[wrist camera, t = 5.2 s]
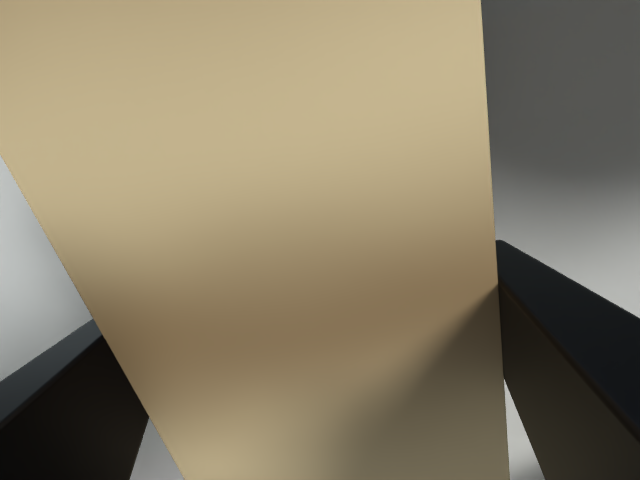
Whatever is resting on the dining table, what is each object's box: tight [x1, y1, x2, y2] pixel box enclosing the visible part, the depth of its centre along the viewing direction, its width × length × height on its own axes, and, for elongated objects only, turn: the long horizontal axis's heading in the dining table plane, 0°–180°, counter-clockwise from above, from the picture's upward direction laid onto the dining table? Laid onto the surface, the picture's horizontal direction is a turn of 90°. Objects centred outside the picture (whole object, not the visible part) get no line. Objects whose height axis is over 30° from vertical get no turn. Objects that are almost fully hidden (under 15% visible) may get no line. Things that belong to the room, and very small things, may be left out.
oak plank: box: [0, 0, 510, 480], centre depth 9 cm, size 14×6×3 cm, turn 13°
